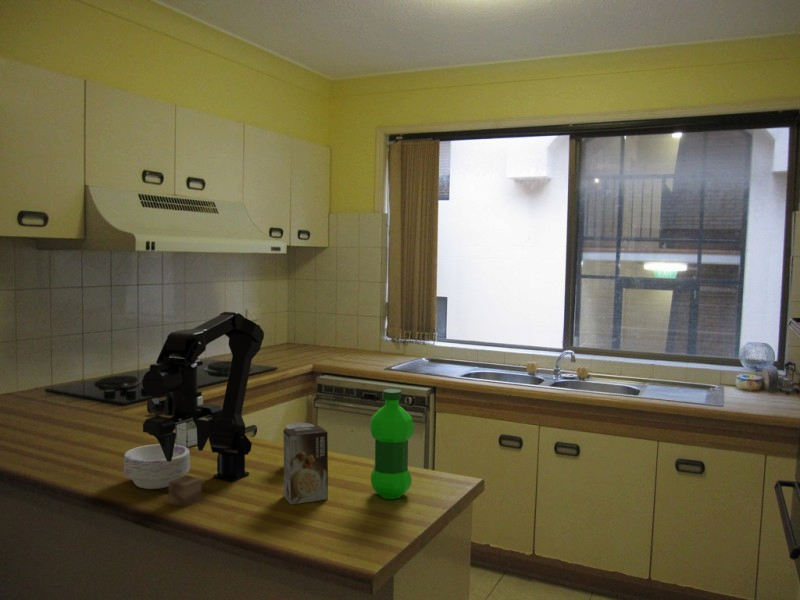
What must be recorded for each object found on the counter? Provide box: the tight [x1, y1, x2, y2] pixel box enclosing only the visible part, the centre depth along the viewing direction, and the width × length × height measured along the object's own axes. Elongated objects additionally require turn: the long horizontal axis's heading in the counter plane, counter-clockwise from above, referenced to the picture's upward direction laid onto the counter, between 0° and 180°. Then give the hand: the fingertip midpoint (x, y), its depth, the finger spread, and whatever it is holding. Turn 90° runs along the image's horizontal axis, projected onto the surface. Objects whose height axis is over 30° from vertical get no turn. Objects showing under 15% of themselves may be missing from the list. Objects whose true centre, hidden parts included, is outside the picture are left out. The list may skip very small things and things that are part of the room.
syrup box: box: [174, 396, 204, 448], centre depth 193 cm, size 6×6×14 cm
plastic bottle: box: [369, 388, 415, 500], centre depth 155 cm, size 10×10×25 cm
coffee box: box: [283, 425, 329, 506], centre depth 152 cm, size 9×6×16 cm
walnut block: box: [168, 474, 202, 508], centre depth 149 cm, size 5×5×5 cm
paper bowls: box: [123, 443, 191, 490], centre depth 161 cm, size 15×15×8 cm
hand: (185, 455), depth 149 cm, fingers open, 9 cm apart
